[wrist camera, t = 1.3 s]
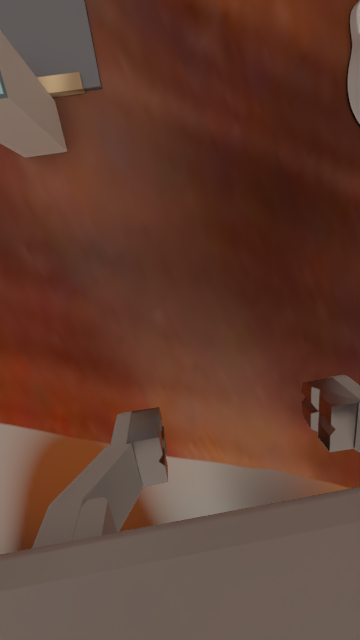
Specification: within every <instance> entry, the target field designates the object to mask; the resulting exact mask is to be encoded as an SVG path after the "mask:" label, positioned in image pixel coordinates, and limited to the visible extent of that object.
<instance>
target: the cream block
mask: <svg viewBox="0 0 360 640" xmlns="http://www.w3.org/2000/svg"><path fill="white" fill-rule="evenodd" d="M0 144H2V145H4V146H6V147H7V148H9V149H11V150H13V151H14V152H16V153H18V154H20V155H21V156H23V157H25V158H26V157H33V156H41V155H48V154H55V153H62V152H67V148H66V144H65V140H64V136H63V132H62V128H61V124H60V119H59V115H58V111H57V107H56V103H55V101H54V99H53V98H52V97H51V95H50V94H49V93H48V91H47V90H46V89H45V88H44V86H43V85H42V84H41V82H40V81H39V80H38V78H37V77H36V76H35V75H34V73H33V72H32V71H31V69H30V68H29V67H28V65H27V64H26V63H25V62H24V60H23V59H22V58H21V56H20V55H19V54H18V52H17V51H16V50H15V49H14V47H13V46H12V45H11V43H10V42H9V41H8V39H7V38H6V37H5V36H4V34H3V33H2V32H1V30H0Z"/></svg>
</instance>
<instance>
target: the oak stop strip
mask: <svg viewBox="0 0 360 640" xmlns="http://www.w3.org/2000/svg"><path fill="white" fill-rule="evenodd" d="M37 78H38V80H39V81H40V82H41V84H42V85H43V86H44V88H45V89H46V90H47V91H48V93H49V94H50V95H51V97H52V98H54V97H61V96H69V95H76V94H84V93H85V90H84V88H83V84H82V79H81V74H80V72H74V73H67V74H59V75H51V76H43V77H37Z"/></svg>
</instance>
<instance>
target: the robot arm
mask: <svg viewBox="0 0 360 640" xmlns="http://www.w3.org/2000/svg"><path fill="white" fill-rule="evenodd" d="M350 30H351V38H352V53H351V58H350V64H349V70H348V95H349V101H350V105H351V108H352V111H353V113H354V115H355V117H356V119H357V121H358V122H359V124H360V0H359V1H358V3H357V4H356V5H355V6H354V7H353V9H352V11H351V15H350ZM302 393H303V394H304V396H305V398H304V400H303V401H302V413H303V416H304V419H305V421H306V423H307V424H308V425H309V427H310V428H311V429H313V430H315V431H317V432H318V438H319V439H320V441H321V442H322V443H323V444H324V446H325V447H326V448H327V449H328V451H329V452H334V451H340V450H347V449H354V448H355V450H356V451H358V452H360V385H359V384H357V383H356V382H355V381H353V380H352V379H351V378H349V377H348V376H346V375H338V376H333V377H329V378H325V379H320V380H314V381H309V382H303V384H302ZM166 455H167V448H166V439H165V432H164V427H163V426H162V417H161V412H160V408H159V407H157V408H150V409H144V410H137V411H132V412H125V413H119V414H118V415H117V417H116V422H115V426H114V431H113V435H112V440H111V445H110V447H106V448H105V449H104V450H103V451H102V452H101V453H100V454H99V455H98V456H97V457H96V458H95V459H94V460H93V461H92V462H91V463H90V465H88V466H87V467H86V468H85V469H84V470H83V471H82V472H81V473H80V474H79V476H77V478H76V479H75V480H74V481H73V482H72V483H71V484H70V485H69V486H68V487H67V488H66V489H65V490H64V491H63V492H62V493H61V494H60V495H59V496H58V497H57V498H56V499H55V500H54V501H53V502H52V503H51V504H50V505H49V507H48V510H47V512H46V515H45V517H44V520H43V522H42V525H41V527H40V530H39V532H38V535H37V537H36V540H35V542H34V545H33V548H32V549H28V550H23V551H17V552H12V553H7V554H1V555H0V640H360V487H356V488H350V489H345V490H340V491H335V492H329V493H324V494H319V495H313V496H308V497H303V498H297V499H293V500H288V501H282V502H276V503H271V504H266V505H260V506H256V507H251V508H245V509H239V510H234V511H229V512H224V513H219V514H213V515H208V516H202V517H197V518H192V519H187V520H181V521H176V522H171V523H166V524H160V525H155V526H150V527H144V528H139V529H134V530H128V531H124V532H119V530H120V529H121V527H122V525H123V523H124V521H125V519H126V518H127V516H128V514H129V513H130V511H131V509H132V507H133V505H134V504H135V502H136V500H137V498H138V497H139V495H140V493H141V491H142V489H143V487H146V486H151V485H155V484H160V483H165V482H168V468H167V461H166Z"/></svg>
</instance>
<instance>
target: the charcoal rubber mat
mask: <svg viewBox="0 0 360 640" xmlns="http://www.w3.org/2000/svg"><path fill="white" fill-rule="evenodd" d="M0 30H1V32H2V33H3V34H4V36H5V37H6V38H7V39H8V41H9V42H10V43H11V45H12V46H13V47H14V49H15V50H16V51H17V52H18V54H19V55H20V56H21V58H22V59H23V60H24V62H25V63H26V64H27V65H28V67H29V68H30V69H31V71H32V72H33V73H34V75H35V76H36V77H43V76H51V75H59V74H67V73H74V72H80V74H81V79H82V84H83V88H84V90H85V91H87V90H94V89H102V87H101V82H100V77H99V72H98V66H97V61H96V56H95V51H94V46H93V41H92V36H91V30H90V25H89V20H88V15H87V10H86V5H85V0H0Z"/></svg>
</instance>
